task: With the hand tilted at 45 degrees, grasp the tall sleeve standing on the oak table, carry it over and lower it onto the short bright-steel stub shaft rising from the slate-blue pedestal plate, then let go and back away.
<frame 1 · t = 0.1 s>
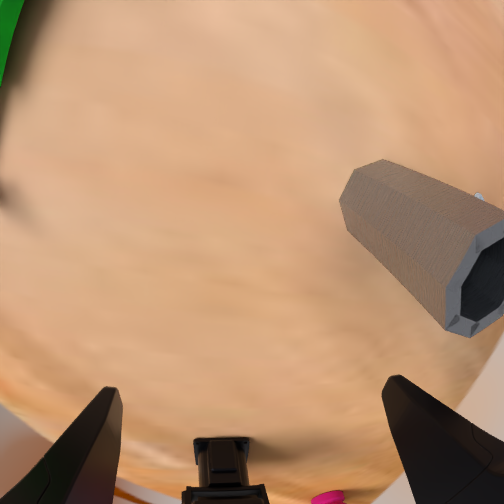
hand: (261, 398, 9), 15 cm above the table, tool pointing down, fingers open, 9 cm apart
sleeve: (377, 201, 23), on the table
pepper mill: (326, 496, 47), on the table
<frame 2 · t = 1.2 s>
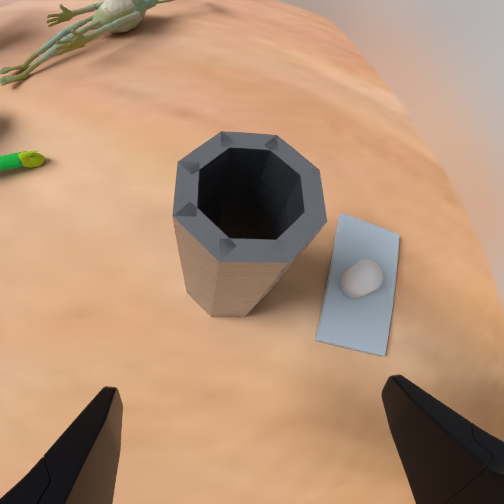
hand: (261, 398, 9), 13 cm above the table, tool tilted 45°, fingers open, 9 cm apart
sleeve: (227, 276, 24), on the table
toy 3: (100, 39, 33), on the table
pedestal: (349, 286, 25), on the table
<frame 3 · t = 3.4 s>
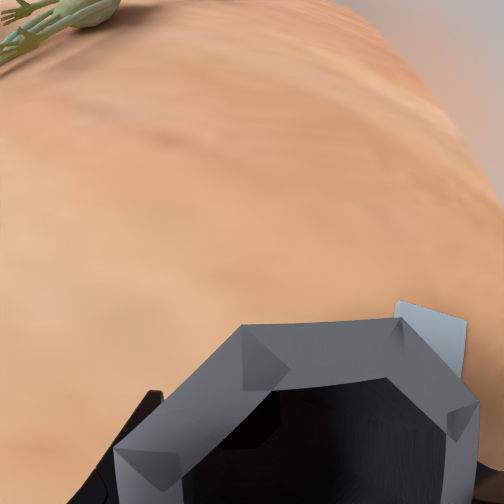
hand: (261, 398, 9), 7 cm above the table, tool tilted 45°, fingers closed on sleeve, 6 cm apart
sleeve: (239, 412, 15), on the table, touching gripper
toy 3: (64, 37, 24), on the table
pedestal: (404, 403, 16), on the table
when the fingers open (9 cm above the table, at t = 6.9 s): sleeve drops 2 cm, resting on pedestal.
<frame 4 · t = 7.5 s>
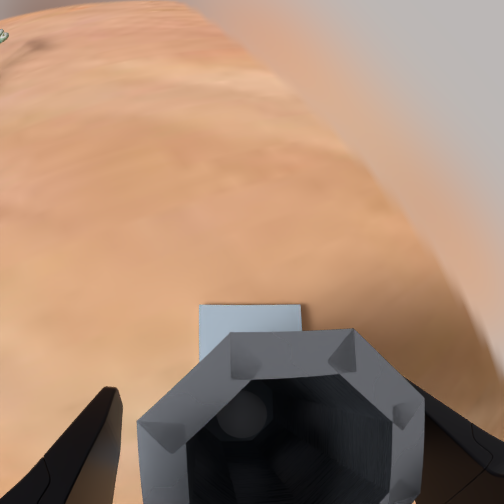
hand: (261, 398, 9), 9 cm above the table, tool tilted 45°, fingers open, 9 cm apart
sleeve: (235, 406, 17), point 1 cm above the table, touching pedestal
pedestal: (235, 406, 17), on the table
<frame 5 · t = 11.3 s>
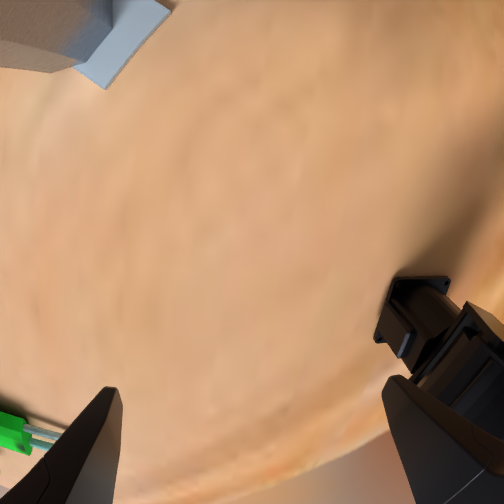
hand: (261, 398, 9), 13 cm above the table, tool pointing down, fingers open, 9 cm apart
sleeve: (67, 24, 13), point 1 cm above the table, touching pedestal
pedestal: (72, 26, 14), on the table
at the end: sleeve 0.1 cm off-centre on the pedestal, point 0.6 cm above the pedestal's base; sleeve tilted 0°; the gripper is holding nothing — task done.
